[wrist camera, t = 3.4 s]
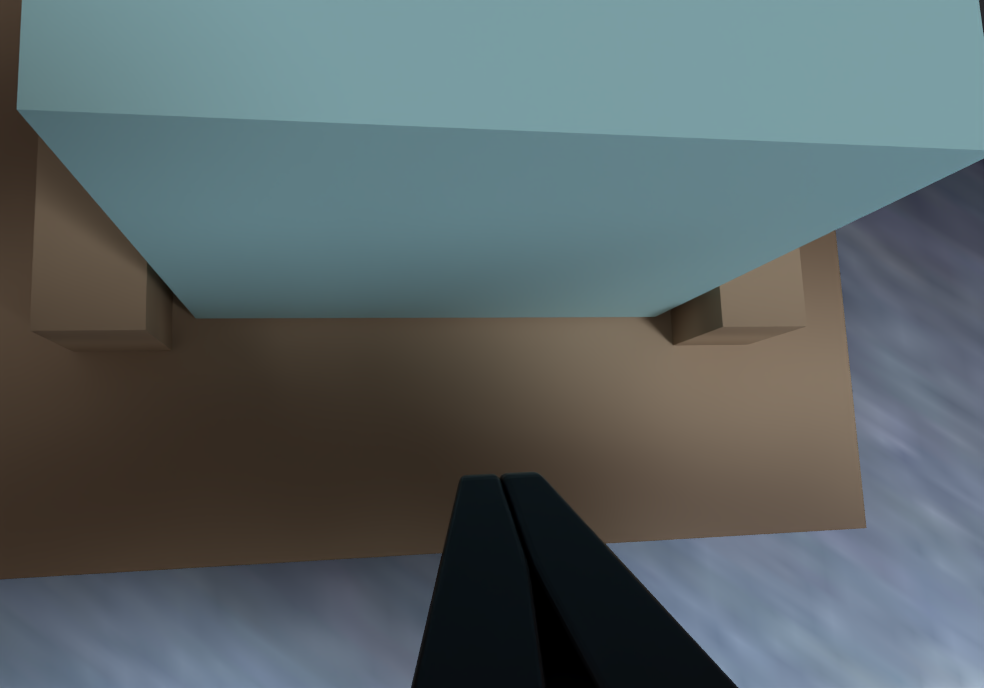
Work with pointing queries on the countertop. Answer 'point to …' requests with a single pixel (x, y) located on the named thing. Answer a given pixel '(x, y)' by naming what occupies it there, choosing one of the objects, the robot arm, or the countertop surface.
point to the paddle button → (493, 142)
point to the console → (384, 405)
